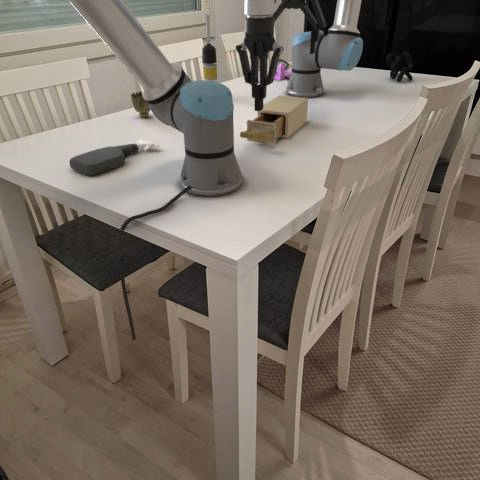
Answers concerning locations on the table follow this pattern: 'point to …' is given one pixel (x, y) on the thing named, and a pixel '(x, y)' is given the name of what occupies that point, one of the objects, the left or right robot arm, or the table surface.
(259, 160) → the table surface
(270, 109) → the wooden box
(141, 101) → the olive irregular piece
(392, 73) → the squiggle
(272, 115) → the drawer
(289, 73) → the bracket
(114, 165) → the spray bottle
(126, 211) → the table surface
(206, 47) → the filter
